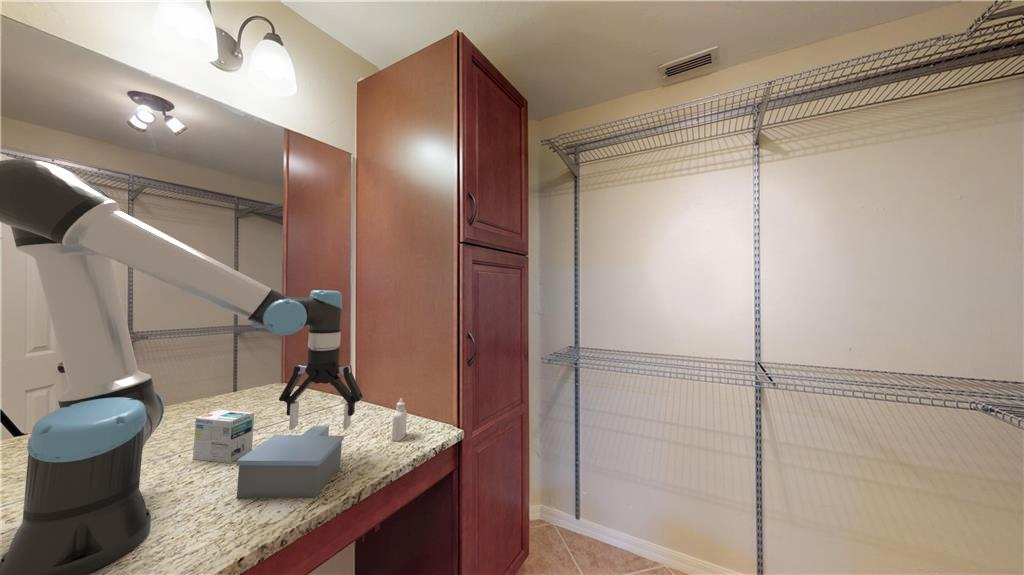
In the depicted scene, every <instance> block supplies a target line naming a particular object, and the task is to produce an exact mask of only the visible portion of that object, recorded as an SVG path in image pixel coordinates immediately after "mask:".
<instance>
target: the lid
mask: <svg viewBox="0 0 1024 575" xmlns="http://www.w3.org/2000/svg"><path fill="white" fill-rule="evenodd" d="M329 432H330V425H313V426H311V427H310V428H308V429H307V430H306V431H305V432H304V433H302V434H301V435H300V434H298V435H297V434H274V435H273V436H271V437H270V438H268V439H266V440H265V441H263V442H261V444H259V445H258V446H256V447H254V448H252V451H250V452H249V453H247V454H246V455H244V456H242V457H240V458H238V459H236V466H239V465H272V466H319V465H320V464H321V463H322V462H323V461H324V460H325V459H326V458H327V457H328V456H329V455H330V454H331V453H332V451H333V450H334V449H335V448H336V447H337V446H338V445H339V444H340V443H341V442H342V443H343V441H344V438H345V435H329Z"/></svg>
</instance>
